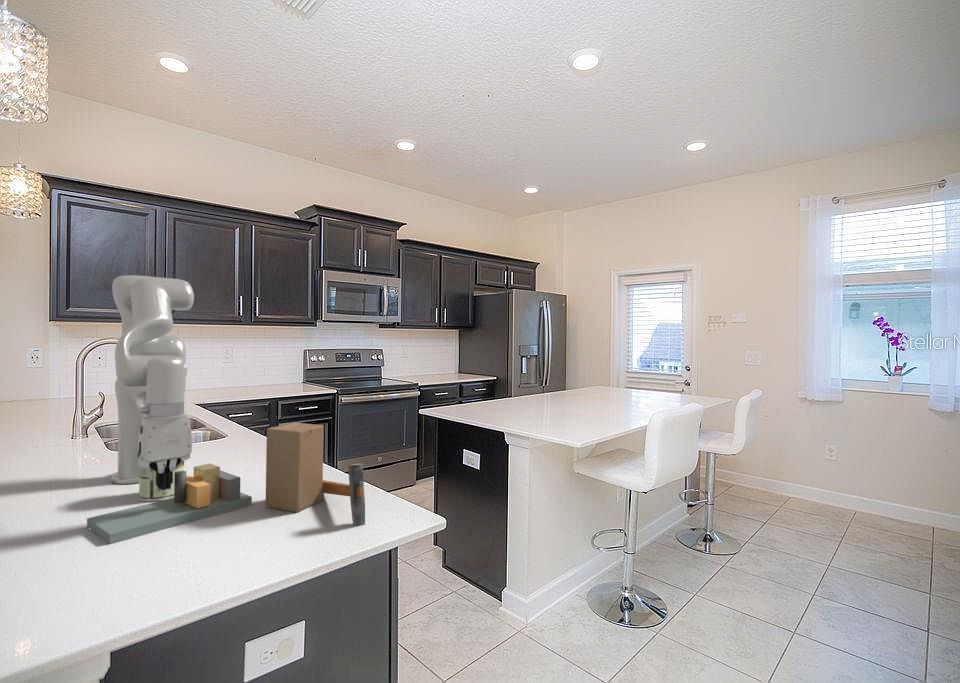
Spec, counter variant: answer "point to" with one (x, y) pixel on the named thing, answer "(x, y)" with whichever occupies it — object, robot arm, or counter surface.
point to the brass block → (209, 478)
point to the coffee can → (148, 484)
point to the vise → (166, 513)
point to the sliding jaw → (191, 490)
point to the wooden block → (294, 466)
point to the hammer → (351, 492)
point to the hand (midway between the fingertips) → (164, 488)
